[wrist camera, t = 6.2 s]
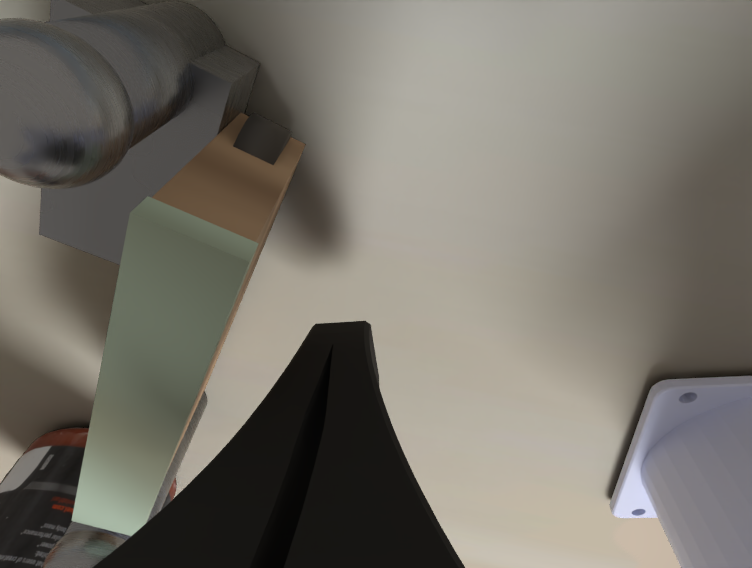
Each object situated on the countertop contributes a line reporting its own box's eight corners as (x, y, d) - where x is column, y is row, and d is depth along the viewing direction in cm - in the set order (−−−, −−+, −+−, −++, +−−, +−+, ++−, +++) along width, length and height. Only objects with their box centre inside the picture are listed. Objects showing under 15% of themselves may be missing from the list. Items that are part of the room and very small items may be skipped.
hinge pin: (197, 373, 15) (86, 600, 10) (218, 414, 17) (129, 636, 11) (137, 376, 16) (-4, 600, 10) (162, 417, 17) (48, 634, 11)
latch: (118, -41, 9) (-199, -44, 4) (267, 39, 9) (140, 114, 5) (90, 195, 12) (-112, 348, 7) (204, 243, 12) (89, 409, 8)
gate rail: (245, 92, 10) (134, 186, 6) (315, 128, 10) (258, 239, 6) (160, 369, 15) (71, 521, 11) (208, 385, 15) (139, 537, 11)
